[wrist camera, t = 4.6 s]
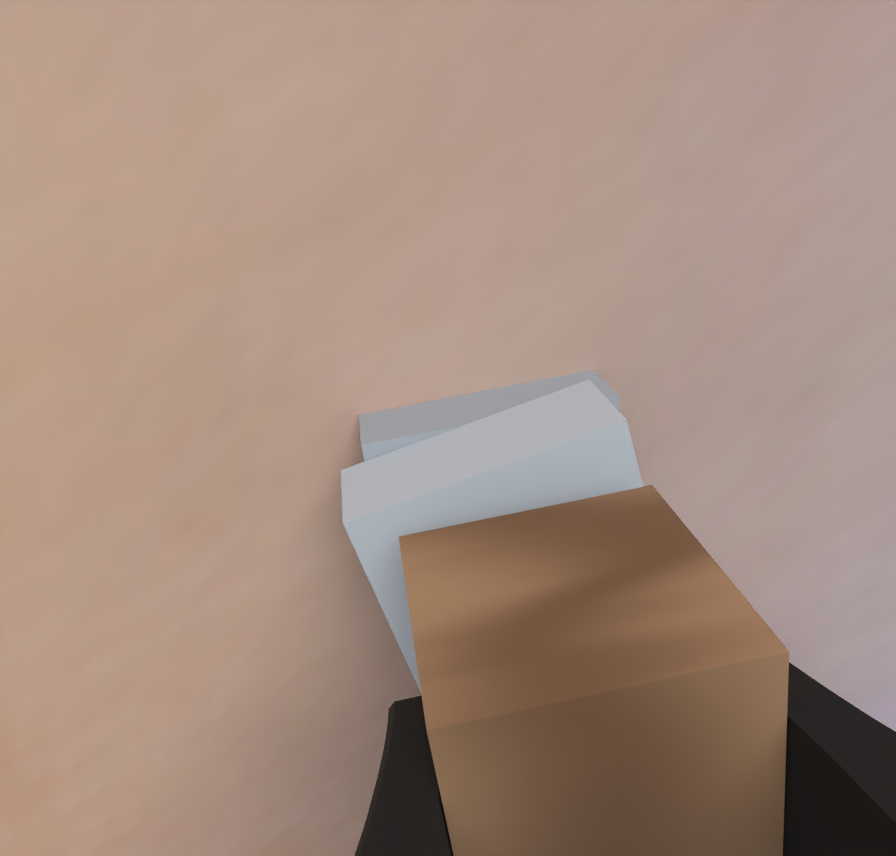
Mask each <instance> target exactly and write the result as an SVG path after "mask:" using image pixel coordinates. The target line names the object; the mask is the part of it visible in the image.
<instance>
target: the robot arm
mask: <svg viewBox="0 0 896 856" xmlns="http://www.w3.org/2000/svg"><path fill="white" fill-rule="evenodd" d="M355 856H454V855H453V850H452V845H451V841H450V836H449V832H448V827H447V822H446V818H445V813H444V808H443V804H442V799H441V795H440V790H439V785H438V781H437V776H436V772H435V767H434V762H433V758H432V753H431V749H430V744H429V739H428V735H427V730H426V723H425V716H424V709H423V702H422V696H418V697H414V698H409V699H405V700H400V701H395V702H394V703H393V704H392V706H391V707H390V708H389V715H388V726H387V733H386V740H385V746H384V751H383V756H382V760H381V765H380V770H379V774H378V778H377V782H376V786H375V789H374V793H373V797H372V801H371V804H370V808H369V812H368V816H367V819H366V822H365V826H364V829H363V832H362V835H361V838H360V841H359V844H358V847H357V850H356V853H355ZM783 856H896V732H895V731H893V730H892V729H890V728H888V727H886V726H885V725H883V724H882V723H880V722H878V721H877V720H875V719H874V718H872V717H870V716H869V715H867V714H865V713H864V712H862V711H861V710H859V709H858V708H856V707H855V706H853V705H852V704H850V703H849V702H847V701H845V700H844V699H842V698H841V697H839V696H838V695H836V694H835V693H833V692H832V691H830V690H829V689H827V688H826V687H824V686H823V685H821V684H820V683H818V682H817V681H815V680H814V679H812V678H811V677H810V676H808V675H807V674H805V673H804V672H802V671H801V670H799V669H798V668H797V667H795V666H794V665H792V664H791V663H789V674H788V706H787V738H786V770H785V802H784V833H783Z"/></svg>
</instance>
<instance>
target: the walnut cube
mask: <svg viewBox="0 0 896 856" xmlns="http://www.w3.org/2000/svg"><path fill="white" fill-rule="evenodd" d="M399 543H400V550H401V557H402V563H403V570H404V577H405V584H406V591H407V598H408V605H409V612H410V619H411V626H412V633H413V640H414V647H415V654H416V660H417V667H418V674H419V681H420V688H421V695H422V702H423V709H424V716H425V723H426V730H427V735H428V739H429V744H430V749H431V753H432V758H433V762H434V767H435V772H436V776H437V781H438V785H439V790H440V795H441V799H442V804H443V808H444V813H445V818H446V822H447V827H448V832H449V836H450V841H451V845H452V850H453V855H454V856H783V833H784V802H785V770H786V738H787V706H788V674H789V651H788V650H787V648H786V647H785V646H784V645H783V644H782V642H781V641H780V640H779V639H778V637H777V636H776V635H775V634H774V633H773V631H772V630H771V629H770V628H769V627H768V625H767V624H766V623H765V622H764V620H763V619H762V618H761V617H760V616H759V614H758V613H757V612H756V611H755V610H754V608H753V607H752V606H751V605H750V603H749V602H748V601H747V600H746V599H745V597H744V596H743V595H742V594H741V593H740V591H739V590H738V589H737V588H736V586H735V585H734V584H733V583H732V582H731V580H730V579H729V578H728V577H727V576H726V574H725V573H724V572H723V571H722V569H721V568H720V567H719V566H718V565H717V563H716V562H715V561H714V560H713V559H712V557H711V556H710V555H709V554H708V552H707V551H706V550H705V549H704V548H703V546H702V545H701V544H700V543H699V542H698V540H697V539H696V538H695V537H694V535H693V534H692V533H691V532H690V531H689V529H688V528H687V527H686V526H685V525H684V523H683V522H682V521H681V520H680V518H679V517H678V516H677V515H676V514H675V512H674V511H673V510H672V509H671V508H670V506H669V505H668V504H667V503H666V501H665V500H664V499H663V498H662V497H661V495H660V494H659V493H658V492H657V491H656V489H655V488H654V487H653V486H652V485H650V486H645V487H640V488H635V489H630V490H625V491H620V492H615V493H610V494H606V495H601V496H596V497H591V498H586V499H581V500H576V501H571V502H566V503H561V504H556V505H551V506H546V507H542V508H537V509H532V510H527V511H522V512H517V513H512V514H507V515H502V516H497V517H492V518H487V519H482V520H477V521H473V522H468V523H463V524H458V525H453V526H448V527H443V528H438V529H433V530H428V531H423V532H418V533H413V534H408V535H404V536H399Z"/></svg>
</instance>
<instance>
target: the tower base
mask: <svg viewBox="0 0 896 856" xmlns="http://www.w3.org/2000/svg"><path fill="white" fill-rule="evenodd" d="M586 380H590V381H591V382H592V383H593V384H594V385H595V386H596V387H597V388H598V389H599V390H600V391H601V392H602V394H603V395H604V396H605V397H606V398H607V399H608V400H609V401H610V402H611V403H612V404H613V405H614V407H615V408H616V409H617V410H618V411H619V397H618V394H617V393H616V392H615V391H614V390H613V389H612V388H611V387H610V386H609V385H608V384H607V383H606V382H605V381H604V380H603V379H602V378H601V377H600V376H599V375H598V374H597V373H596V372H595V370H591V371H586V372H580V373H575V374H570V375H565V376H559V377H554V378H549V379H544V380H539V381H533V382H528V383H523V384H518V385H512V386H507V387H502V388H497V389H492V390H486V391H481V392H476V393H471V394H465V395H460V396H455V397H450V398H445V399H439V400H434V401H429V402H424V403H418V404H413V405H408V406H403V407H398V408H392V409H387V410H382V411H377V412H371V413H366V414H361V415H359V427H360V439H361V448H362V452H363V457H364V461H368V460H370V459H373V458H376V457H379V456H381V455H384V454H387V453H389V452H392V451H395V450H398V449H400V448H403V447H406V446H409V445H411V444H414V443H417V442H420V441H422V440H425V439H428V438H430V437H433V436H436V435H439V434H441V433H444V432H447V431H450V430H452V429H455V428H458V427H461V426H463V425H466V424H469V423H471V422H474V421H477V420H480V419H482V418H485V417H488V416H491V415H493V414H496V413H499V412H502V411H504V410H507V409H510V408H512V407H515V406H518V405H521V404H523V403H526V402H529V401H532V400H534V399H537V398H540V397H542V396H545V395H548V394H551V393H553V392H556V391H559V390H562V389H564V388H567V387H570V386H573V385H575V384H578V383H581V382H583V381H586Z"/></svg>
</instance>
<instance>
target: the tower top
mask: <svg viewBox="0 0 896 856" xmlns="http://www.w3.org/2000/svg"><path fill="white" fill-rule="evenodd" d="M640 487H643V483H642V479H641V475H640V471H639V467H638V463H637V459H636V455H635V451H634V447H633V444H632V440H631V436H630V432H629V428H628V424H627V420H626V418H625V417H624V416H623V415H622V414H621V413H620V412H619V411H618V410H617V409H616V408H615V407H614V405H613V404H612V403H611V402H610V401H609V400H608V399H607V398H606V397H605V396H604V395H603V394H602V392H601V391H600V390H599V389H598V388H597V387H596V386H595V385H594V384H593V383H592V382H591V381H590V380H586V381H583V382H581V383H578V384H575V385H573V386H570V387H567V388H564V389H562V390H559V391H556V392H553V393H551V394H548V395H545V396H542V397H540V398H537V399H534V400H532V401H529V402H526V403H523V404H521V405H518V406H515V407H512V408H510V409H507V410H504V411H502V412H499V413H496V414H493V415H491V416H488V417H485V418H482V419H480V420H477V421H474V422H471V423H469V424H466V425H463V426H461V427H458V428H455V429H452V430H450V431H447V432H444V433H441V434H439V435H436V436H433V437H430V438H428V439H425V440H422V441H420V442H417V443H414V444H411V445H409V446H406V447H403V448H400V449H398V450H395V451H392V452H389V453H387V454H384V455H381V456H379V457H376V458H373V459H370V460H368V461H365V462H362V463H359V464H357V465H354V466H351V467H348V468H346V469H343V470H341V490H342V519H343V525H344V527H345V529H346V532H347V534H348V536H349V538H350V540H351V542H352V545H353V547H354V549H355V551H356V553H357V555H358V558H359V560H360V562H361V564H362V566H363V569H364V571H365V573H366V575H367V577H368V579H369V582H370V584H371V586H372V588H373V590H374V593H375V595H376V597H377V599H378V601H379V603H380V606H381V608H382V610H383V612H384V614H385V616H386V619H387V621H388V623H389V625H390V627H391V630H392V632H393V634H394V636H395V638H396V640H397V643H398V645H399V647H400V649H401V651H402V653H403V656H404V658H405V660H406V662H407V664H408V667H409V669H410V671H411V673H412V675H413V677H414V680H415V682H416V684H417V686H418V688H419V691H420V693H421V688H420V681H419V674H418V667H417V660H416V654H415V647H414V640H413V633H412V626H411V619H410V612H409V605H408V598H407V591H406V584H405V577H404V570H403V563H402V557H401V550H400V543H399V536H404V535H408V534H413V533H418V532H423V531H428V530H433V529H438V528H443V527H448V526H453V525H458V524H463V523H468V522H473V521H477V520H482V519H487V518H492V517H497V516H502V515H507V514H512V513H517V512H522V511H527V510H532V509H537V508H542V507H546V506H551V505H556V504H561V503H566V502H571V501H576V500H581V499H586V498H591V497H596V496H601V495H606V494H610V493H615V492H620V491H625V490H630V489H635V488H640Z"/></svg>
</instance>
